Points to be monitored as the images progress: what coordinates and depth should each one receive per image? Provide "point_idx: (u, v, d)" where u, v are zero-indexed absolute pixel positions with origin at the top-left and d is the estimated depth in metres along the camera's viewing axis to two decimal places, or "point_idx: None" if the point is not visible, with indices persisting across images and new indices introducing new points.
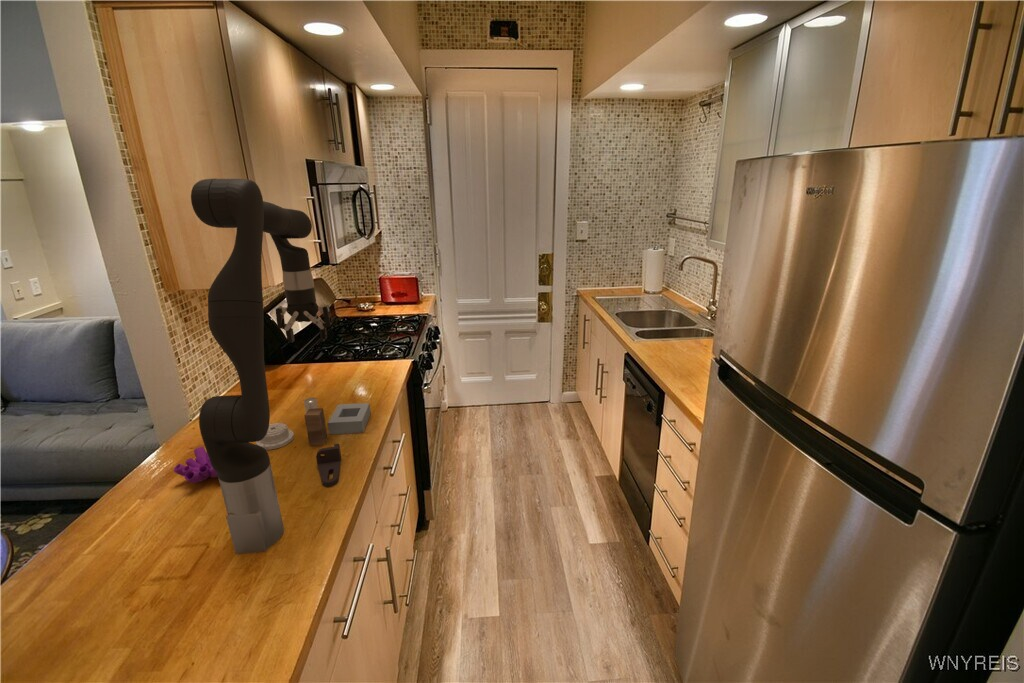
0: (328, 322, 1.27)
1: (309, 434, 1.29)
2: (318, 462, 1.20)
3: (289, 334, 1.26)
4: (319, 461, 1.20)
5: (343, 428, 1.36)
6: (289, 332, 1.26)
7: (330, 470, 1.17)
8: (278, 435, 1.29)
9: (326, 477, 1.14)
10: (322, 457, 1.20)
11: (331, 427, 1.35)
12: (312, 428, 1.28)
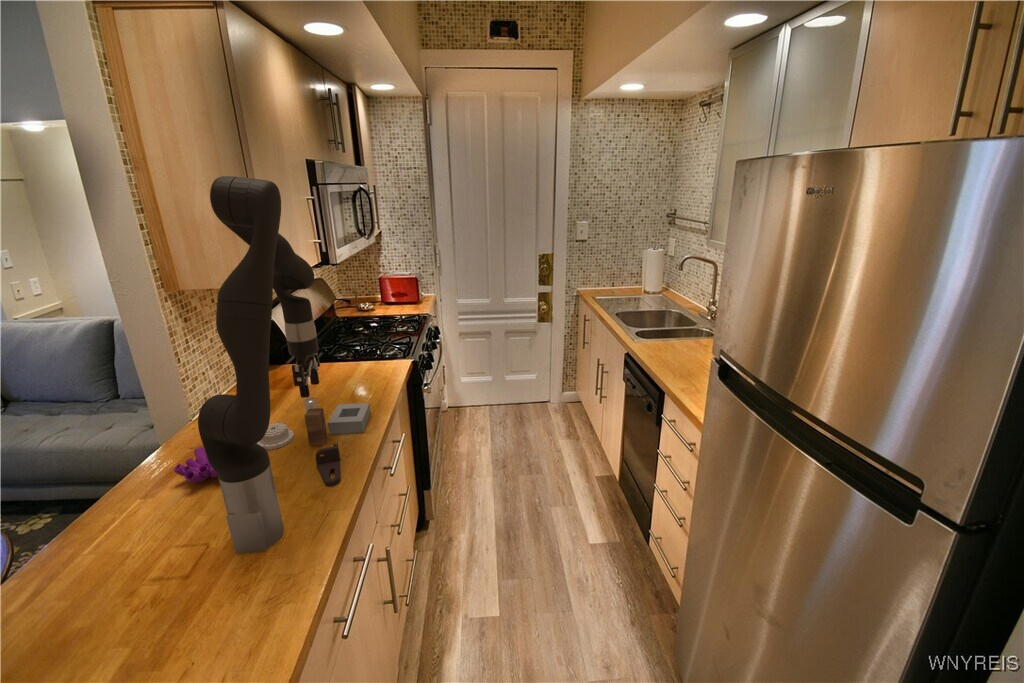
0: (319, 362, 1.31)
1: (309, 434, 1.29)
2: (317, 462, 1.20)
3: (308, 388, 1.22)
4: (318, 461, 1.20)
5: (343, 428, 1.36)
6: (308, 386, 1.22)
7: (331, 470, 1.17)
8: (278, 435, 1.29)
9: (328, 477, 1.14)
10: (321, 457, 1.20)
11: (331, 427, 1.35)
12: (312, 428, 1.28)
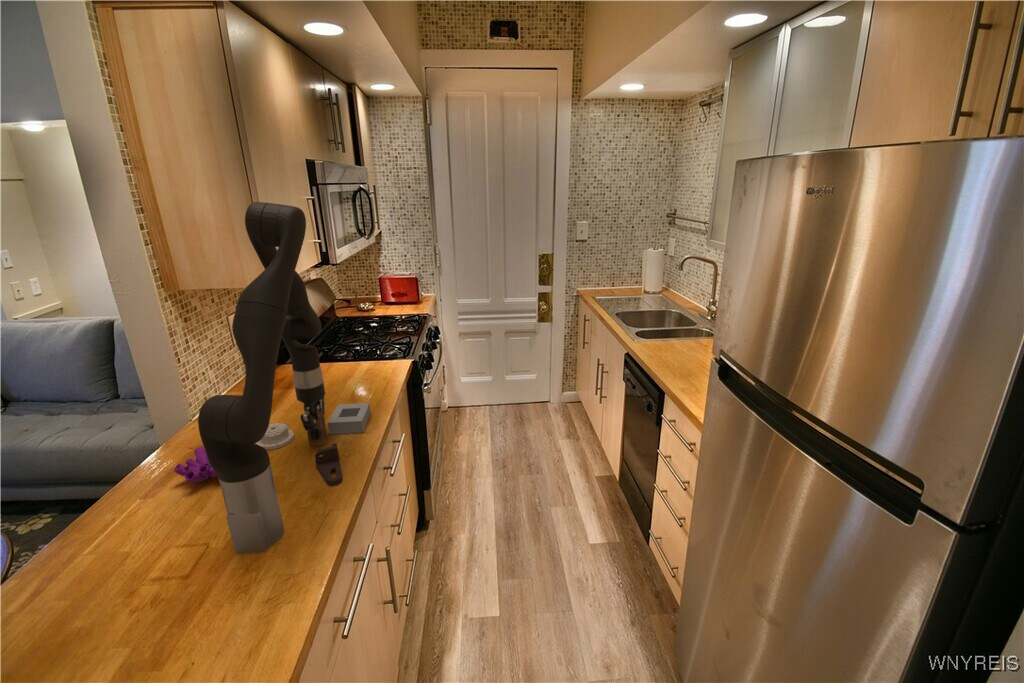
0: (323, 410, 1.34)
1: (309, 434, 1.29)
2: (317, 463, 1.19)
3: (317, 431, 1.28)
4: (318, 462, 1.20)
5: (343, 428, 1.36)
6: (317, 429, 1.28)
7: (332, 470, 1.17)
8: (278, 435, 1.29)
9: (330, 476, 1.14)
10: (321, 458, 1.20)
11: (331, 427, 1.35)
12: None
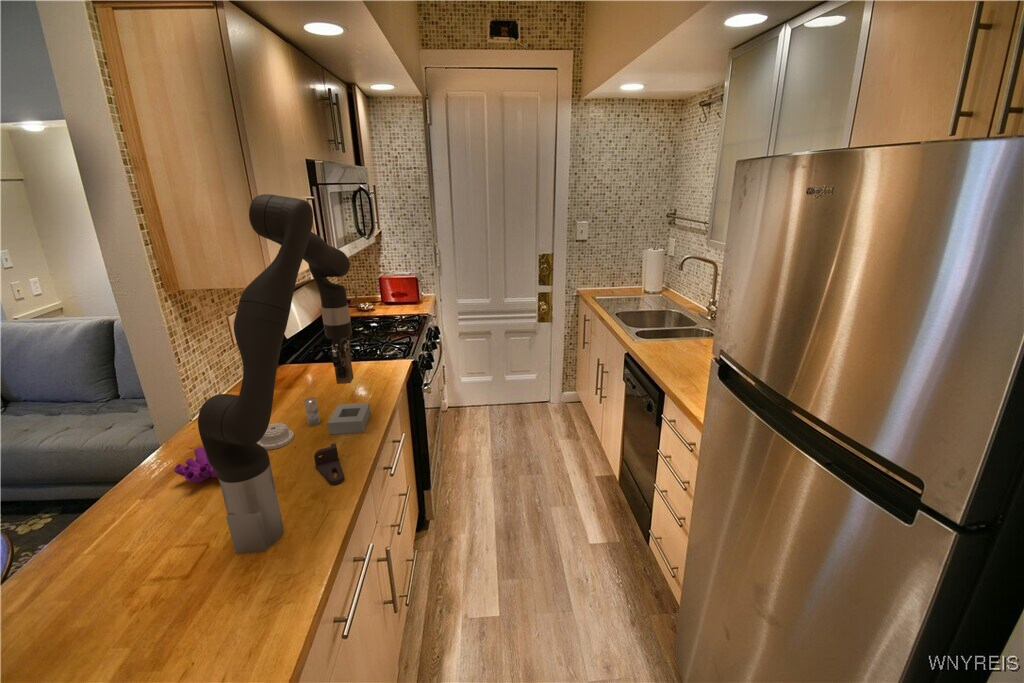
0: None
1: (336, 372, 1.34)
2: (316, 464, 1.19)
3: (345, 369, 1.33)
4: (318, 462, 1.19)
5: (343, 428, 1.36)
6: (344, 367, 1.33)
7: (332, 469, 1.17)
8: (278, 435, 1.29)
9: (332, 476, 1.14)
10: (320, 458, 1.20)
11: (331, 427, 1.35)
12: None
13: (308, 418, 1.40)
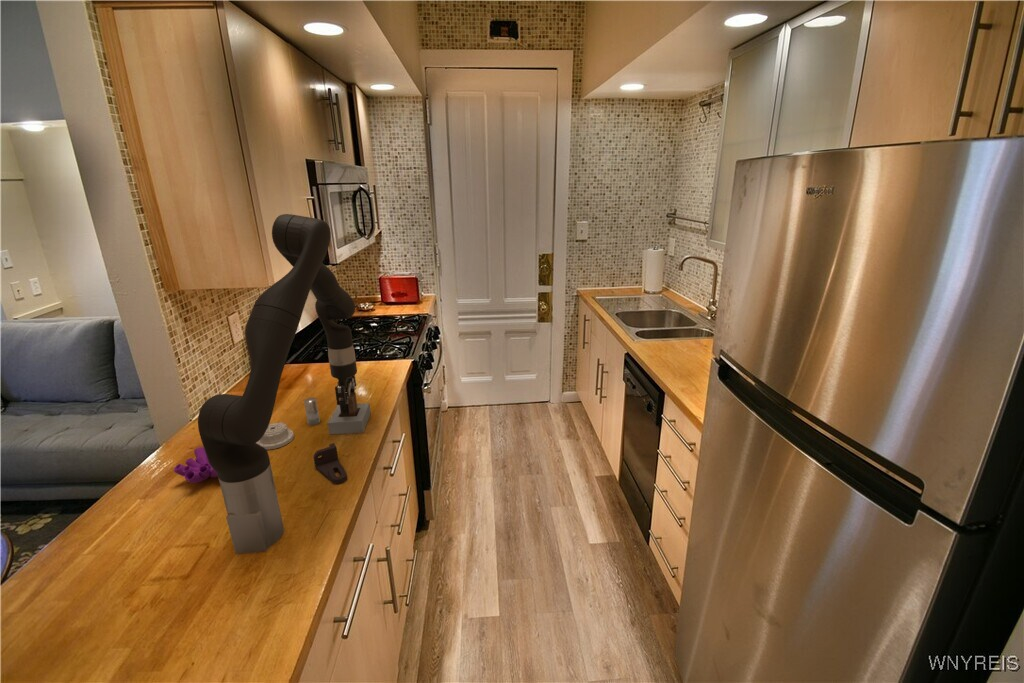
0: (355, 382, 1.45)
1: (343, 416, 1.39)
2: (316, 464, 1.19)
3: (348, 406, 1.35)
4: (317, 463, 1.19)
5: (343, 428, 1.36)
6: None
7: (334, 469, 1.18)
8: (277, 435, 1.29)
9: (334, 475, 1.14)
10: (320, 459, 1.20)
11: (331, 427, 1.35)
12: None
13: (308, 418, 1.40)
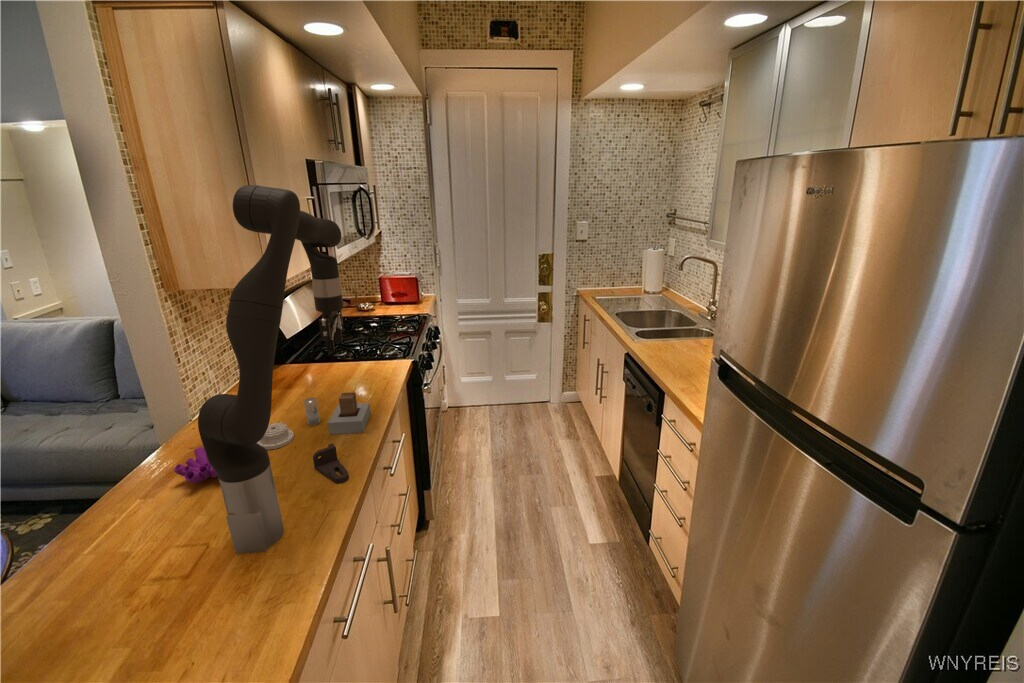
0: (342, 322, 1.37)
1: (342, 416, 1.39)
2: (316, 465, 1.19)
3: (333, 343, 1.27)
4: (317, 464, 1.19)
5: (343, 428, 1.36)
6: (333, 341, 1.27)
7: (334, 469, 1.18)
8: (277, 435, 1.29)
9: (336, 474, 1.15)
10: (319, 459, 1.19)
11: (331, 427, 1.35)
12: (345, 411, 1.38)
13: (308, 418, 1.40)
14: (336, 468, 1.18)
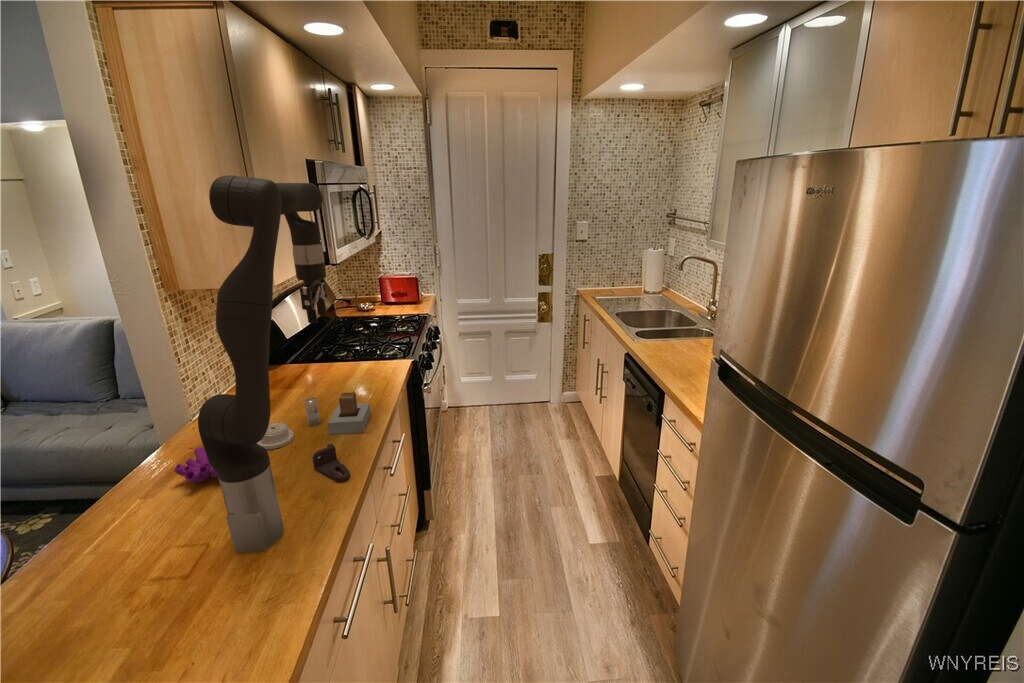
0: (326, 293, 1.31)
1: (342, 416, 1.39)
2: (316, 465, 1.19)
3: (315, 313, 1.21)
4: (317, 464, 1.19)
5: (343, 428, 1.36)
6: (315, 311, 1.21)
7: (335, 468, 1.18)
8: (277, 435, 1.29)
9: (338, 474, 1.15)
10: (319, 459, 1.19)
11: (331, 427, 1.35)
12: (345, 411, 1.38)
13: (308, 418, 1.40)
14: (337, 468, 1.18)
